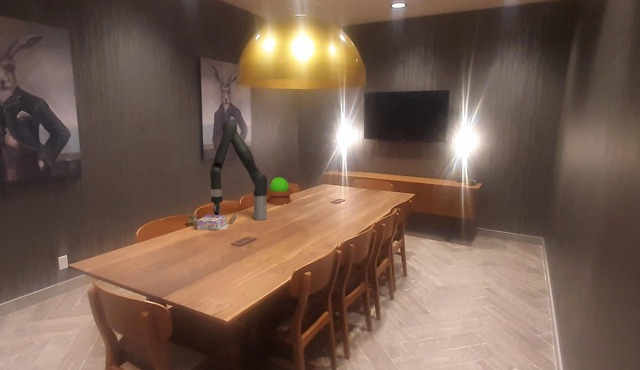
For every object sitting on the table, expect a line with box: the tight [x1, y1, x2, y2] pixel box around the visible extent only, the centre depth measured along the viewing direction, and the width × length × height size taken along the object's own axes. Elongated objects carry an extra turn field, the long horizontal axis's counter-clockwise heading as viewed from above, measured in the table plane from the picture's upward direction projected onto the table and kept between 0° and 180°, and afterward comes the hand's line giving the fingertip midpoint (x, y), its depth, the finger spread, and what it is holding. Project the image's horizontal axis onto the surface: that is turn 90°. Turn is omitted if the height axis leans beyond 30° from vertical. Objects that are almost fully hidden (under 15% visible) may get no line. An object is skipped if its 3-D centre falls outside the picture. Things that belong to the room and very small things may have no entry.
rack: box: [204, 213, 237, 225], centre depth 254 cm, size 21×17×4 cm
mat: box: [197, 224, 230, 231], centre depth 236 cm, size 18×12×1 cm, turn 94°
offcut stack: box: [187, 213, 199, 227], centre depth 244 cm, size 5×8×7 cm, turn 4°
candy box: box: [196, 214, 227, 230], centre depth 238 cm, size 14×6×16 cm
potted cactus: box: [266, 176, 293, 206], centre depth 311 cm, size 22×22×25 cm
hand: (217, 219), depth 249 cm, fingers closed
